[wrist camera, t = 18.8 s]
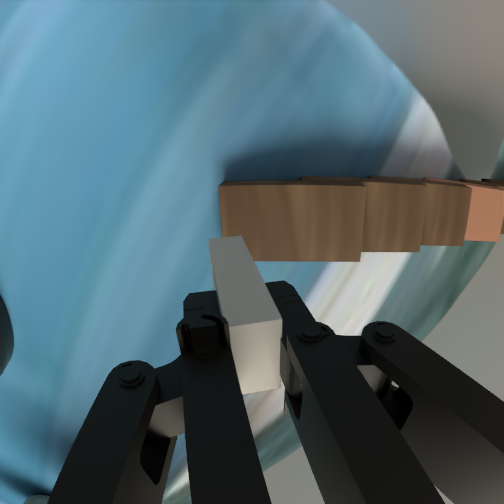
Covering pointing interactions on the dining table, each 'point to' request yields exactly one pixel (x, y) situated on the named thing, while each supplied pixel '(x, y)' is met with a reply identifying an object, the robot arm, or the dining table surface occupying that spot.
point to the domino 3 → (443, 212)
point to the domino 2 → (390, 213)
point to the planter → (37, 499)
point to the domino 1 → (295, 218)
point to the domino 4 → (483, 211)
